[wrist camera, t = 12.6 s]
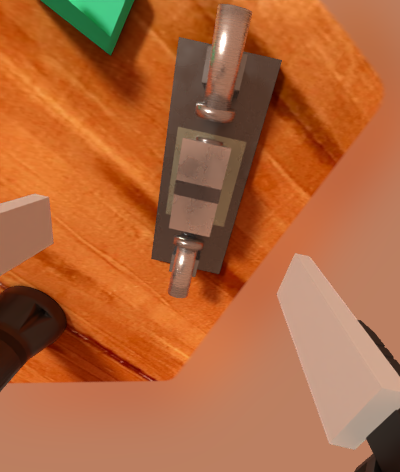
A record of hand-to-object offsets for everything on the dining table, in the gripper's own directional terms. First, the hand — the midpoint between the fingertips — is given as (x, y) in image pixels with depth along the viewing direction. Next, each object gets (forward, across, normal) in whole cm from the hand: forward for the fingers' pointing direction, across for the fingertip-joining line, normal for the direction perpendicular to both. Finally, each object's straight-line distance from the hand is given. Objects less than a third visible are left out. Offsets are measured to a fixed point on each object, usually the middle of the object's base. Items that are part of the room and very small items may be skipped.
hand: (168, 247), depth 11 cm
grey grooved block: (+20, 0, 0) cm, 20 cm away
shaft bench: (+23, 0, 0) cm, 23 cm away
